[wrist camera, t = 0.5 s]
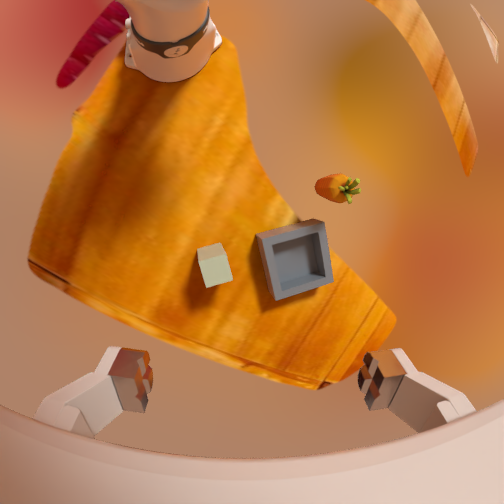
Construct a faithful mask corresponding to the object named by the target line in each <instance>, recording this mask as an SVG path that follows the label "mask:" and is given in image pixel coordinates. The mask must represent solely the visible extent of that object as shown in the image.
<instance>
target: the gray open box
mask: <svg viewBox="0 0 504 504" xmlns="http://www.w3.org/2000/svg"><path fill="white" fill-rule="evenodd" d="M256 238H257V242H258V247H259V251H260V255H261V259H262V264H263V268H264V272H265V276H266V281H267V285H268V289H269V292H270V294H271V295H272V296H273V298H274V299H275V300H276V301H277V300H280V299H283V298H287V297H290V296H293V295H296V294H299V293H302V292H305V291H308V290H311V289H314V288H317V287H320V286H323V285H326V284H329V283H332V282H334V281H333V274H332V267H331V260H330V254H329V247H328V242H327V235H326V230H325V224H324V222H323V221H319V220H316V219H310V220H306V221H303V222H299V223H295V224H291V225H288V226H284V227H280V228H277V229H273V230H269V231H265V232H262V233H258V234H256Z"/></svg>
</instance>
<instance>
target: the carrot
mask: <svg viewBox="0 0 504 504" xmlns="http://www.w3.org/2000/svg"><path fill="white" fill-rule="evenodd" d="M359 182H360V180H359V179H358V178H356V179H355V180H354V182H352V179H351V178H350V177H347V176H345V175H343V174H333V175H329V176H326V177H324V178H321V179H319V180H318V181H317V182H316V184H315V190H316V192H317V194H319V195H320V196H322V197H324V198H326V199H328V200H330V201H333V202H337V203H343V202H345V201H348V203H349V204H350V203H352V199H351V198H352V195H355V194H358V193H360V192H361V189H360V188H358V189H355V188H354V187H356V186H357V185H358V184H359Z"/></svg>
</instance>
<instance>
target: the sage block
mask: <svg viewBox="0 0 504 504" xmlns="http://www.w3.org/2000/svg"><path fill="white" fill-rule="evenodd" d="M197 253H198V262H199V266H200V269H201V272H202V276H203V279H204V282H205V285H206V288H207V287H211V286H214V285H218V284H221V283H225V282H228V281H232V280H233V278H232V274H231V270H230V266H229V263H228V259H227V255H226V253H225V251H224V249H223V247H222V245H221V243H217V244H213V245H210V246H206V247H203V248H199V249H197Z"/></svg>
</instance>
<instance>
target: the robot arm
mask: <svg viewBox="0 0 504 504" xmlns="http://www.w3.org/2000/svg"><path fill="white" fill-rule="evenodd" d="M116 1H118V2H119V3H121V4H122V5H124V6H125V8H126V9H127V11H128V13H129V15H130V18H128V19H126V22H125V24H126V29H128V33H127V35H126V37H127V42H126V51H125V65H126V66H127V67H128V68H132V69H136V70H139V71H141V72H142V73H143V74H145V75H146V76H147V77H149V78H151V79H153V80H156V81H160V82H176V81H181V80H184V79H187V78H189V77H191V76H193V75H195V74H196V73H197V72H199V71H200V70H201V69H202V68H203V67H204V66H205V64H206V63H207V61H208V59H209V57H210V55H211V54H212V52H213V51H215V50H216V49H217V48H218V47H219V46H220V45H221V44H222V38H221V36H220V35H219V33H218V31H217V29H216V26H215V25H214V24H213V22H212V20H211V18H210V13H209V7H208V1H209V0H116ZM130 56H132V57H130ZM149 361H150V357H149V353H148V352H147V351H144V350H136V349H129V348H121V347H114V346H110V347H108V348H107V350H106V352H105V354H104V355H103V357H102V359H101V361H100V362H99V364H98V366H97V368H96V370H95V372H94V373H92V372H90V373H88V374H86V375H85V376H83V377H81V378H79V379H77V380H75V381H74V382H72V383H70V384H68V385H66V386H64V387H63V388H61V389H59V390H57V391H55V392H53V393H52V394H50V395H48V396H46V397H45V398H44V400H43V401H42V403H41V404H40V406H39V408H38V410H37V411H36V413H35V415H34V416H33V418H30V417H27V416H25V415H22V414H20V413H18V412H15V411H13V410H11V409H9V408H6V407H4V406H2V405H0V504H504V399H503V400H501V401H499V402H497V403H495V404H493V405H491V406H488V407H486V408H484V409H482V410H479V411H476V410H475V409H474V407H473V406H472V404H471V403H470V402H469V400H468V399H467V397H466V396H465V394H463V393H461V392H460V391H458V390H456V389H454V388H452V387H450V386H448V385H446V384H444V383H442V382H440V381H438V380H436V379H434V378H432V377H430V376H428V375H426V374H425V373H423V372H418V371H417V370H416V368H415V367H414V366H413V364H412V363H411V361H410V360H409V358H408V357H407V355H406V354H405V353H404V351H403V350H402V349H401V348H397V349H390V350H384V351H374V352H367V353H366V354H365V356H364V358H363V362H364V364H365V365H363V366H362V367H361V368H360V370H359V374H358V385H359V388H360V391H361V392H363V393H365V394H366V396H365V398H364V400H365V402H366V404H367V406H368V409H369V410H370V411H371V410H378V409H384V408H388V409H389V410H390V411H392V412H393V413H394V414H395V415H396V416H398V417H399V418H400V419H402V420H403V421H404V422H405V423H407V424H408V425H409V426H410V427H412V428H413V429H414V430H416V431H417V432H418V433H417V434H414V435H410V436H407V437H403V438H399V439H395V440H392V441H388V442H383V443H379V444H374V445H370V446H365V447H360V448H355V449H349V450H343V451H337V452H330V453H323V454H314V455H304V456H292V457H276V458H216V457H199V456H187V455H178V454H170V453H161V452H155V451H148V450H143V449H137V448H132V447H126V446H122V445H117V444H113V443H108V442H104V441H100V440H96V439H95V438H94V436H95V435H96V434H97V433H98V432H100V430H102V429H103V428H104V427H105V426H107V425H108V424H109V423H110V422H111V421H112V420H114V419H115V418H116V417H117V416H118V415H119V414H121V413H122V412H123V410H126V411H133V412H140V413H145V409H146V406H147V403H148V397H147V394H148V393H150V392H151V389H152V385H153V372H152V368H151V367H150V366H149V365H148V364H149Z"/></svg>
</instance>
